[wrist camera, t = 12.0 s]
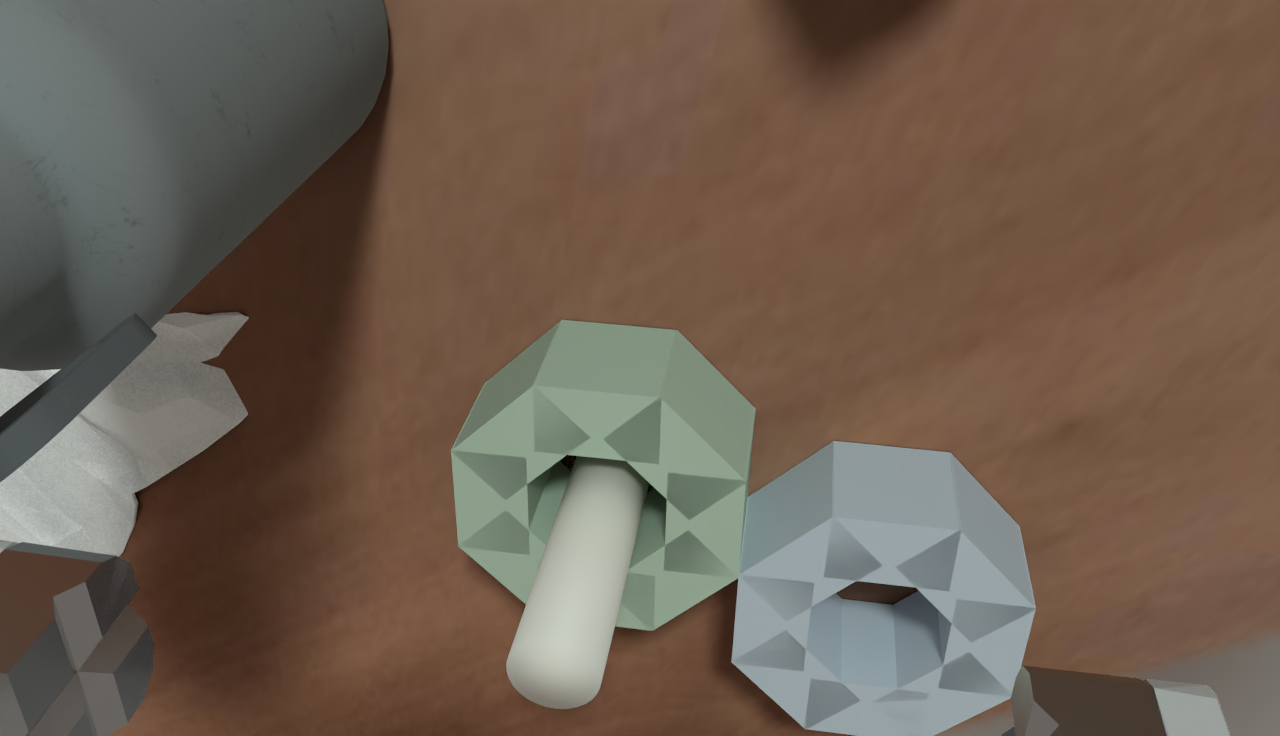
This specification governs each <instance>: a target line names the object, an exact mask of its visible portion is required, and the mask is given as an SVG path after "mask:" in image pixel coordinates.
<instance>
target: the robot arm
mask: <svg viewBox="0 0 1280 736" xmlns="http://www.w3.org/2000/svg"><path fill="white" fill-rule="evenodd" d="M138 590H139V587H138V584H137V581H136V578H135V575H134V572H133V568H132V565H131V562H129V561H127V560H125V559H122V558H120V557H118V556H114V555H107V554H100V553H94V552H87V551H80V550H73V549H66V548H60V547H53V546H46V545H39V544H33V543H26V542H21V543H17V542H11V541H4V540H0V736H107V735H109V734H110V733H112V732H114V731H115V730H117V729H119V728H121V727H122V726H124V725H126V724H127V723H128V722H129V721H130V719H131V718H132V716H133V715H134V713H135V712H136V710H137V709H138V707H139V705H140V704H141V702H142V701H143V699H144V697H145V694H146V691H147V688H148V684H149V681H150V678H151V675H152V672H153V669H154V643H153V639H152V635H151V631H150V627H149V624H148V623H147V622H146V621H145V620H144V619H143V618H142V617H141V616H140V615H139V614H138V613H137V612H136V611H135V610H134V609H133V608H132V607H131V606H130V605H129V604H130V602H131V601H132V599H133V598H134V596H135V595H136V593H137V592H138ZM1011 704H1012V712H1013V719H1014V727H1012V728H1011V729H1010V730H1008V731H1007V732H1005V733H1004V734H1002V736H1231V734H1230V731H1229V728H1228V725H1227V722H1226V719H1225V716H1224V714H1223V711H1222V708H1221V705H1220V702H1219V699H1218V696H1217V695H1216V694H1215V693H1214V692H1213V691H1212V689H1211V688H1210V687H1209V686H1207V685H1197V684H1188V683H1179V682H1169V681H1159V680H1151V679H1145V680H1144V681H1143V680H1141V679H1137V678H1129V677H1120V676H1111V675H1102V674H1093V673H1084V672H1076V671H1067V670H1058V669H1049V668H1040V667H1031V666H1022V667H1021V669H1020V671H1019V672H1018V674H1017V676H1016V680H1015V683H1014V687H1013V691H1012V695H1011Z"/></svg>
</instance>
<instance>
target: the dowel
mask: <svg viewBox="0 0 1280 736" xmlns="http://www.w3.org/2000/svg"><path fill="white" fill-rule="evenodd" d="M648 487H649V482H648V481H647V480H646V479H645V478H644V477H643V476H641V475H640V474H639V473H638V472H637V471H636V470H635V469H634V468H633V467H632V466H631V465H630V464H629V463H628V462H627V461H622V460H612V459H603V458H593V457H583V456H577V457H576V459H575V462H574V465H573V468H572V471H571V474H570V477H569V480H568V483H567V486H566V489H565V492H564V495H563V498H562V501H561V503H560V506H559V509H558V512H557V515H556V518H555V521H554V524H553V527H552V530H551V533H550V536H549V539H548V542H547V545H546V548H545V550H544V553H543V556H542V559H541V562H540V565H539V568H538V571H537V574H536V577H535V580H534V583H533V586H532V589H531V592H530V594H529V597H528V600H527V603H526V606H525V609H524V612H523V615H522V618H521V621H520V624H519V627H518V630H517V633H516V636H515V639H514V641H513V644H512V647H511V650H510V653H509V656H508V659H507V663H506V669H507V675H508V678H509V680H510V682H511V683H512V685H513V686H514V688H515V689H516V690H517V691H518V692H519V693H520V694H521V695H523V696H524V697H525V698H527V699H529V700H530V701H532V702H534V703H536V704H539V705H542V706H545V707H549V708H555V709H570V708H575V707H579V706H582V705H584V704H586V703H588V702H589V701H591V700H592V699H593V698H594V697H595V696H596V695H597V693H598V691H599V689H600V686H601V682H602V678H603V674H604V670H605V665H606V661H607V657H608V653H609V649H610V645H611V641H612V636H613V632H614V628H615V624H616V620H617V616H618V611H619V607H620V603H621V599H622V595H623V591H624V587H625V582H626V578H627V574H628V570H629V566H630V562H631V557H632V553H633V549H634V545H635V541H636V537H637V533H638V528H639V524H640V520H641V516H642V512H643V508H644V504H645V499H646V495H647V491H648Z"/></svg>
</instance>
